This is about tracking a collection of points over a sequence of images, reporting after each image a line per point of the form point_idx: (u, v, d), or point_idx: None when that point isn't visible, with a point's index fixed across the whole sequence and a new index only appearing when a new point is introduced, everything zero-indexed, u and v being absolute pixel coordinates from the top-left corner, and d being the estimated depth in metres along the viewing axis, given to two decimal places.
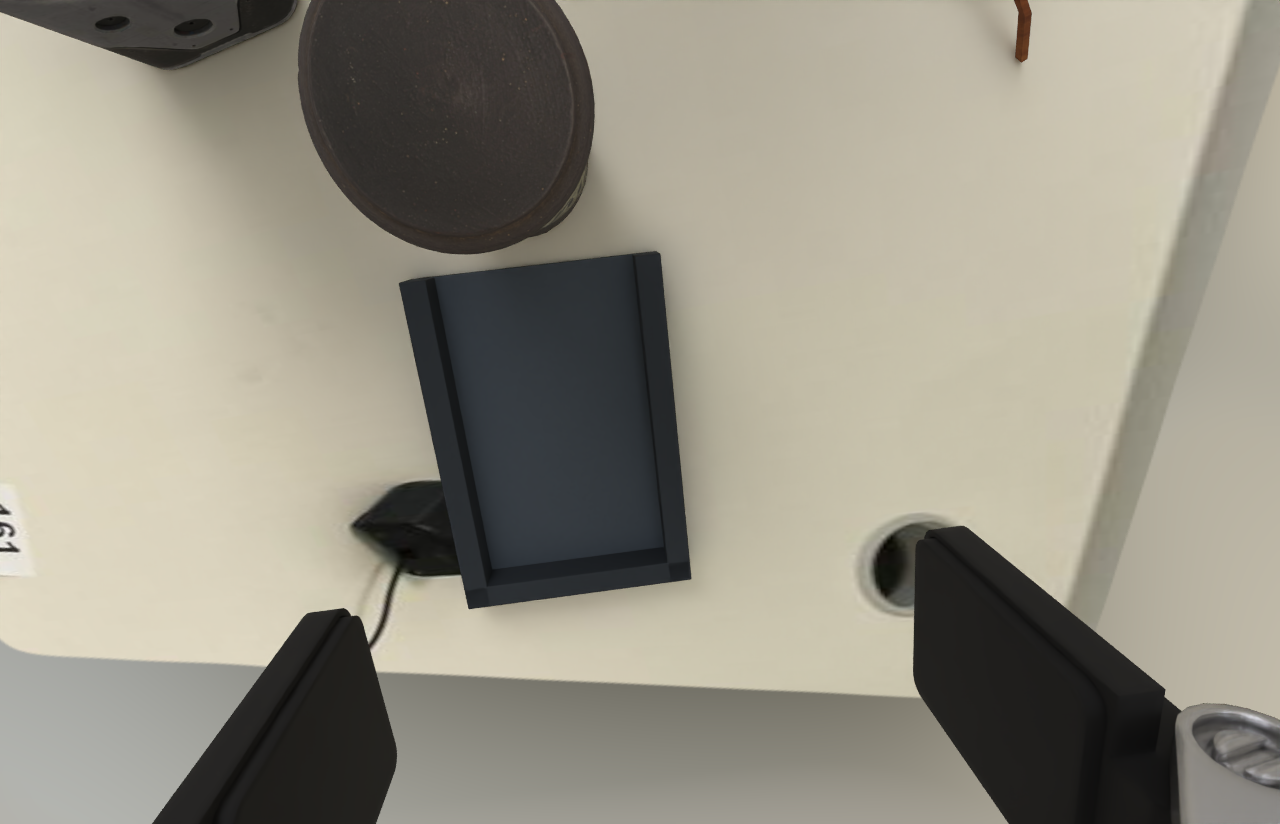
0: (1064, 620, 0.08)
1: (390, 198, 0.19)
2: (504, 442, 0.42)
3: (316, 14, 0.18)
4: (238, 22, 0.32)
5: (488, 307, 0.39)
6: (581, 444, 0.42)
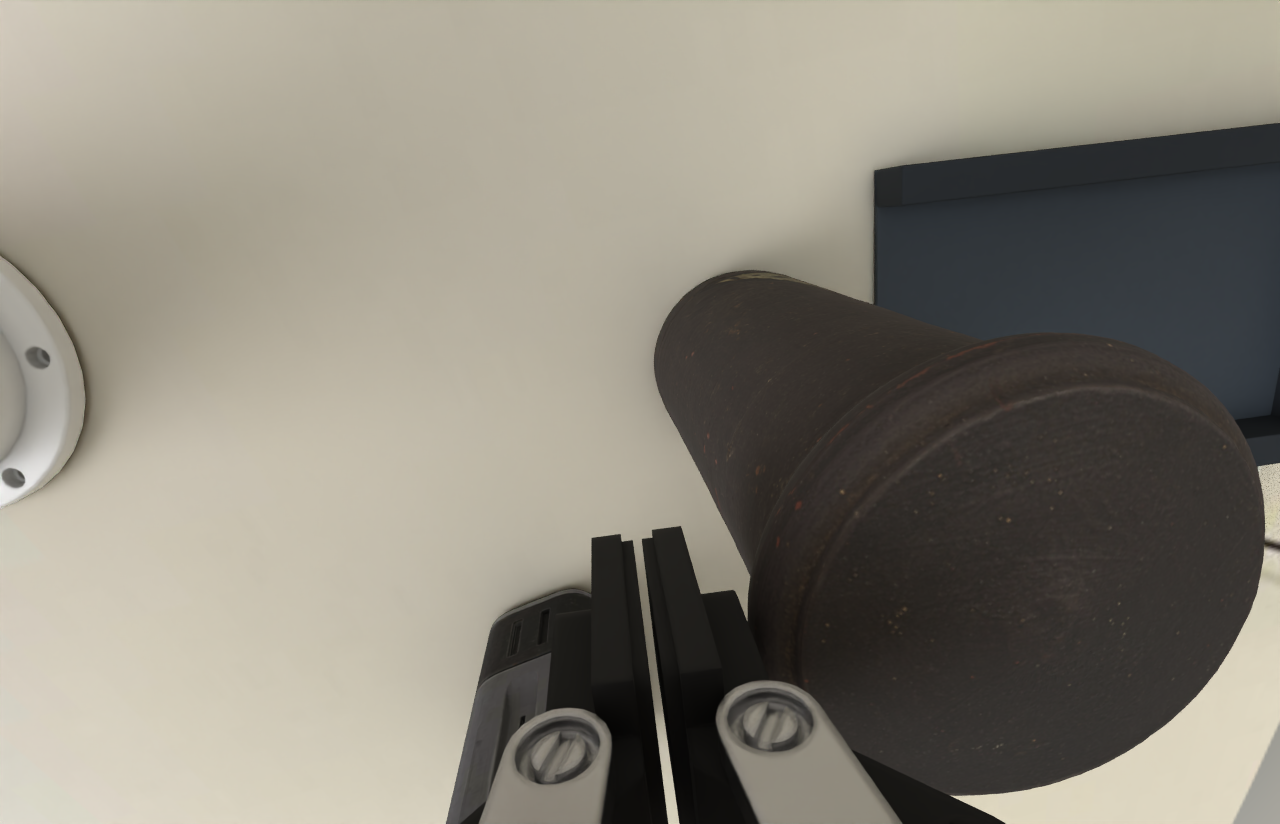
0: (691, 609, 0.09)
1: (1174, 696, 0.11)
2: None
3: None
4: None
5: None
6: (1127, 285, 0.29)
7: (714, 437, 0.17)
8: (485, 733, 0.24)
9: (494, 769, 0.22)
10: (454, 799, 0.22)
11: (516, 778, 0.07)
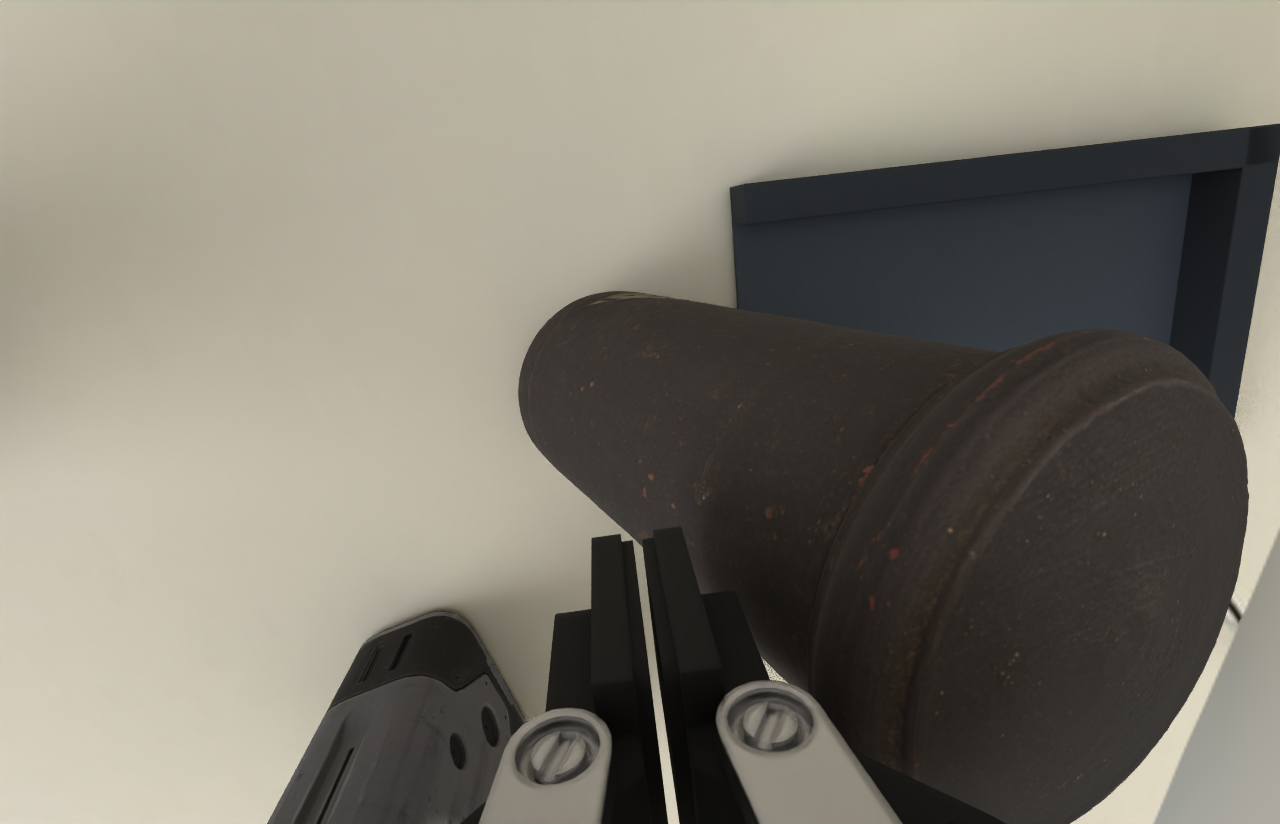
0: (691, 609, 0.09)
1: (1190, 678, 0.11)
2: None
3: None
4: (479, 678, 0.29)
5: None
6: (999, 303, 0.28)
7: (665, 478, 0.14)
8: (309, 766, 0.23)
9: (303, 805, 0.21)
10: None
11: (515, 778, 0.07)
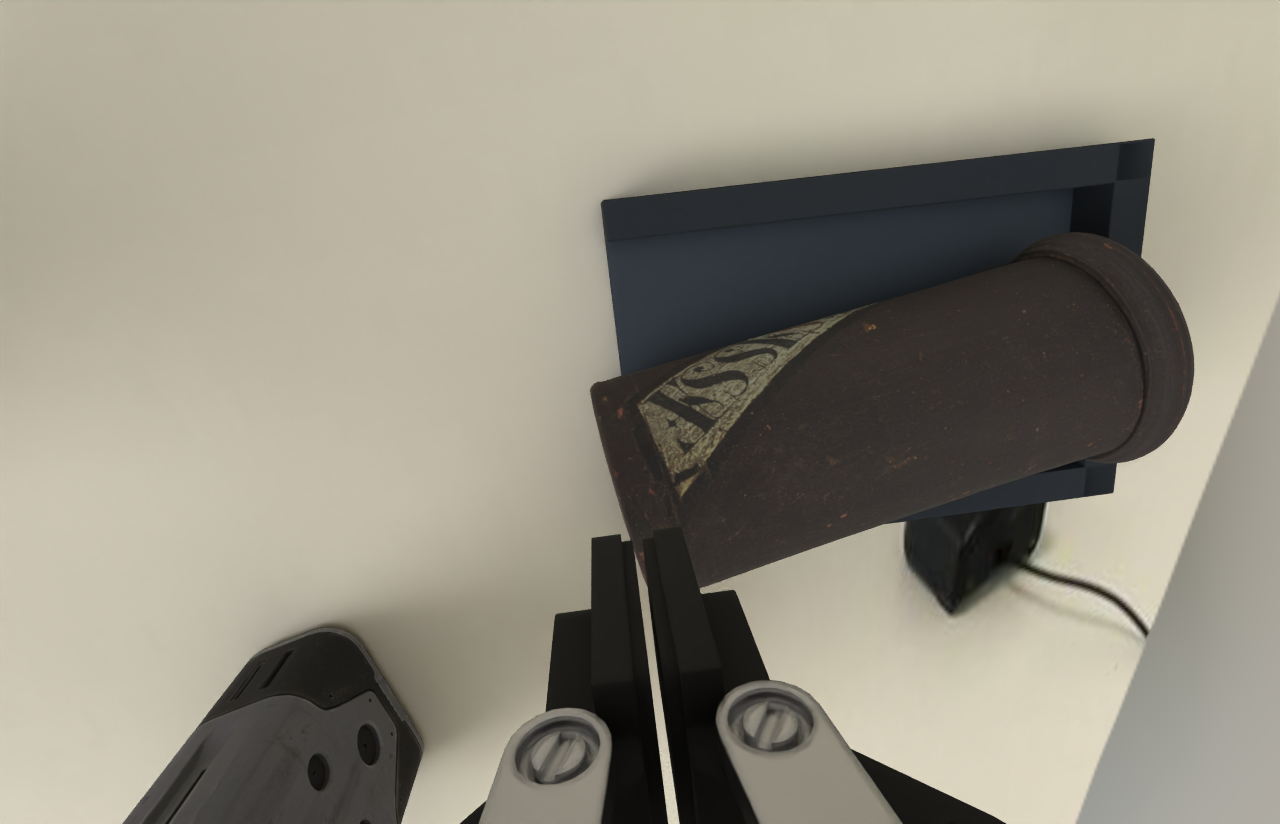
0: (691, 609, 0.09)
1: None
2: None
3: None
4: (360, 695, 0.29)
5: None
6: None
7: (986, 484, 0.22)
8: (157, 788, 0.23)
9: None
10: None
11: (516, 778, 0.07)
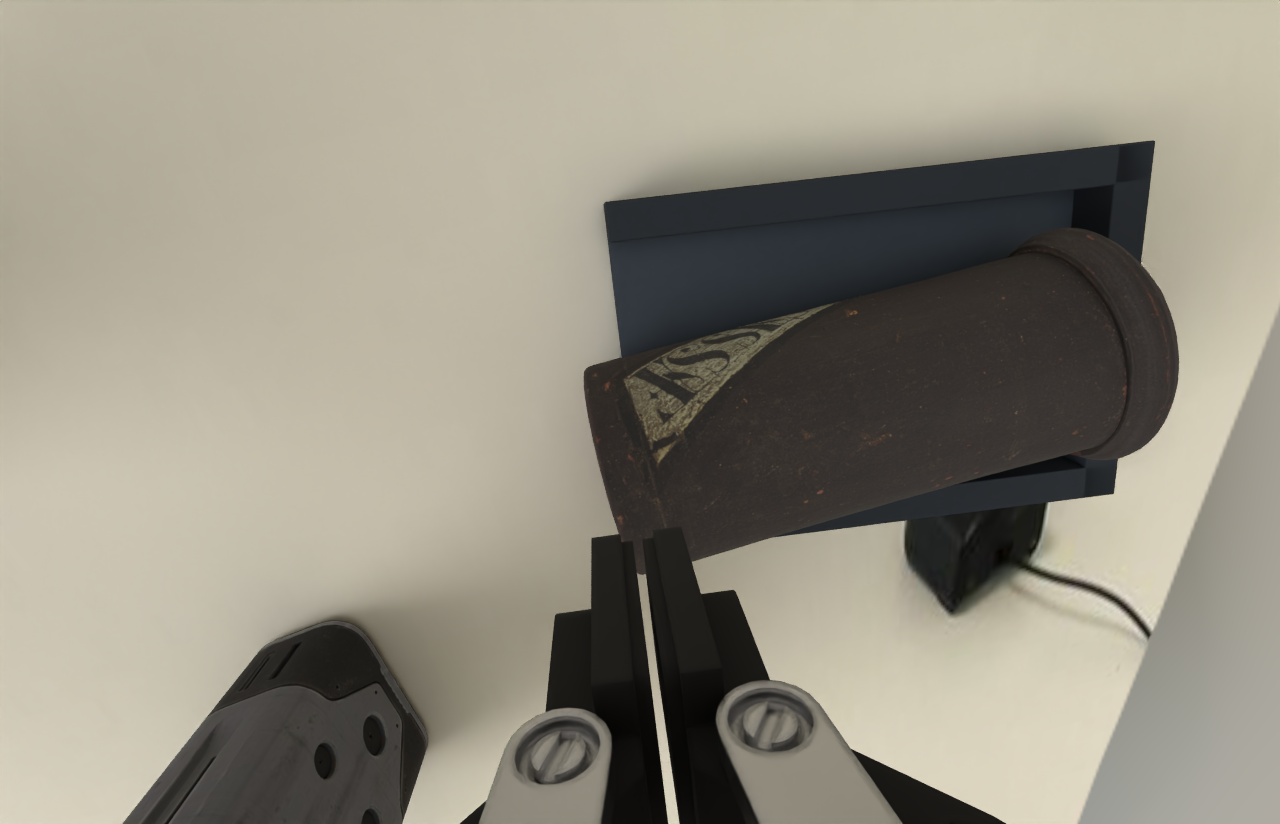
0: (691, 609, 0.09)
1: None
2: None
3: None
4: (367, 687, 0.30)
5: None
6: None
7: (968, 470, 0.22)
8: (168, 774, 0.24)
9: (150, 814, 0.22)
10: None
11: (516, 778, 0.07)
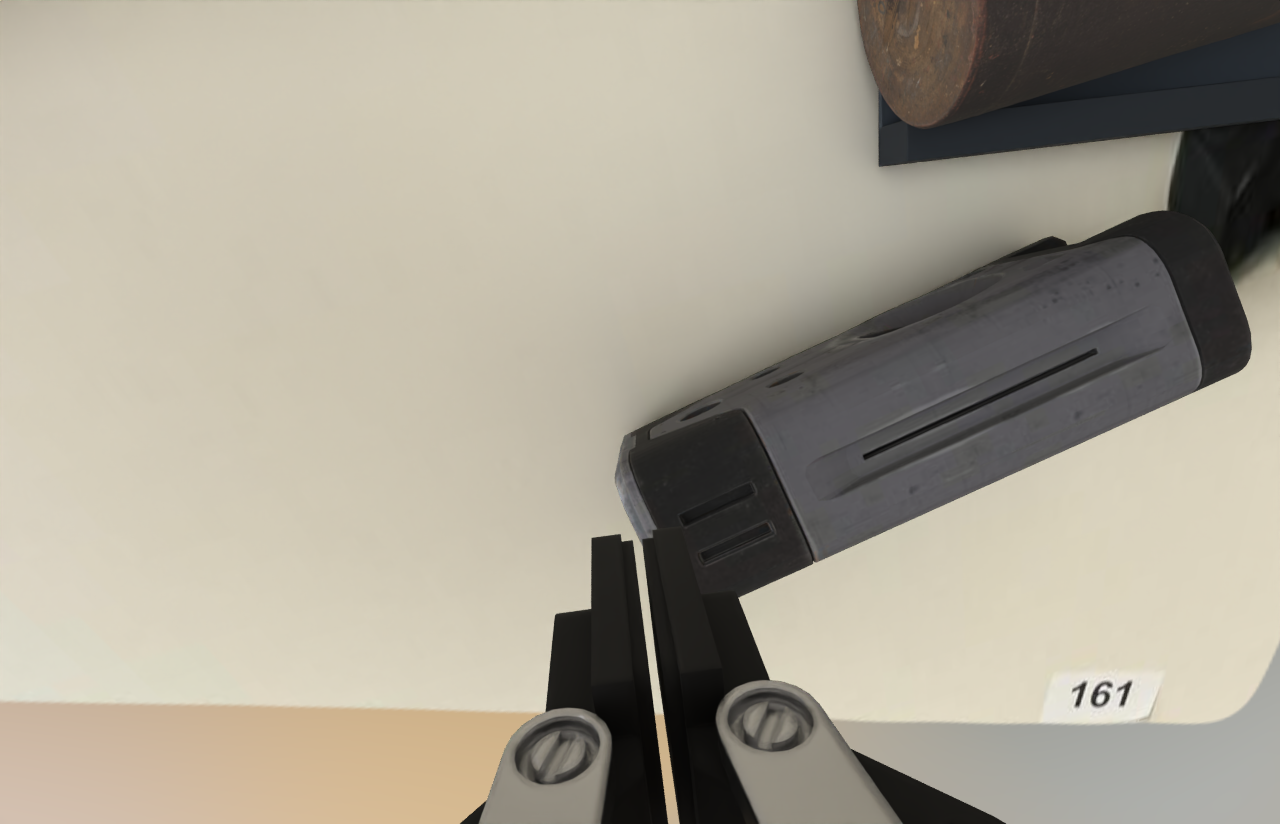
0: (691, 609, 0.09)
1: None
2: None
3: None
4: (673, 430, 0.23)
5: None
6: None
7: None
8: (899, 489, 0.20)
9: (947, 446, 0.20)
10: (973, 482, 0.20)
11: (516, 778, 0.07)
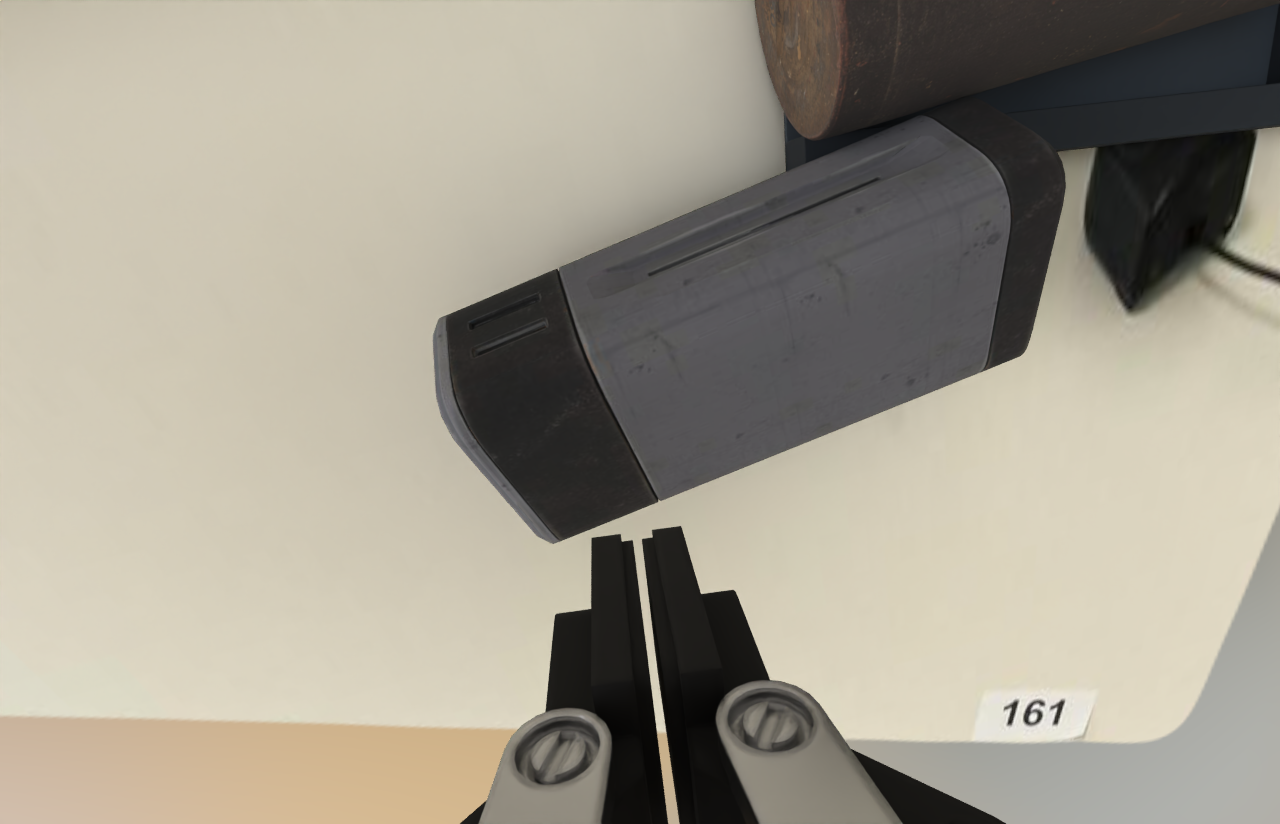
0: (691, 610, 0.09)
1: None
2: None
3: None
4: None
5: None
6: None
7: None
8: (673, 282, 0.19)
9: (724, 248, 0.20)
10: (756, 277, 0.19)
11: (516, 778, 0.07)
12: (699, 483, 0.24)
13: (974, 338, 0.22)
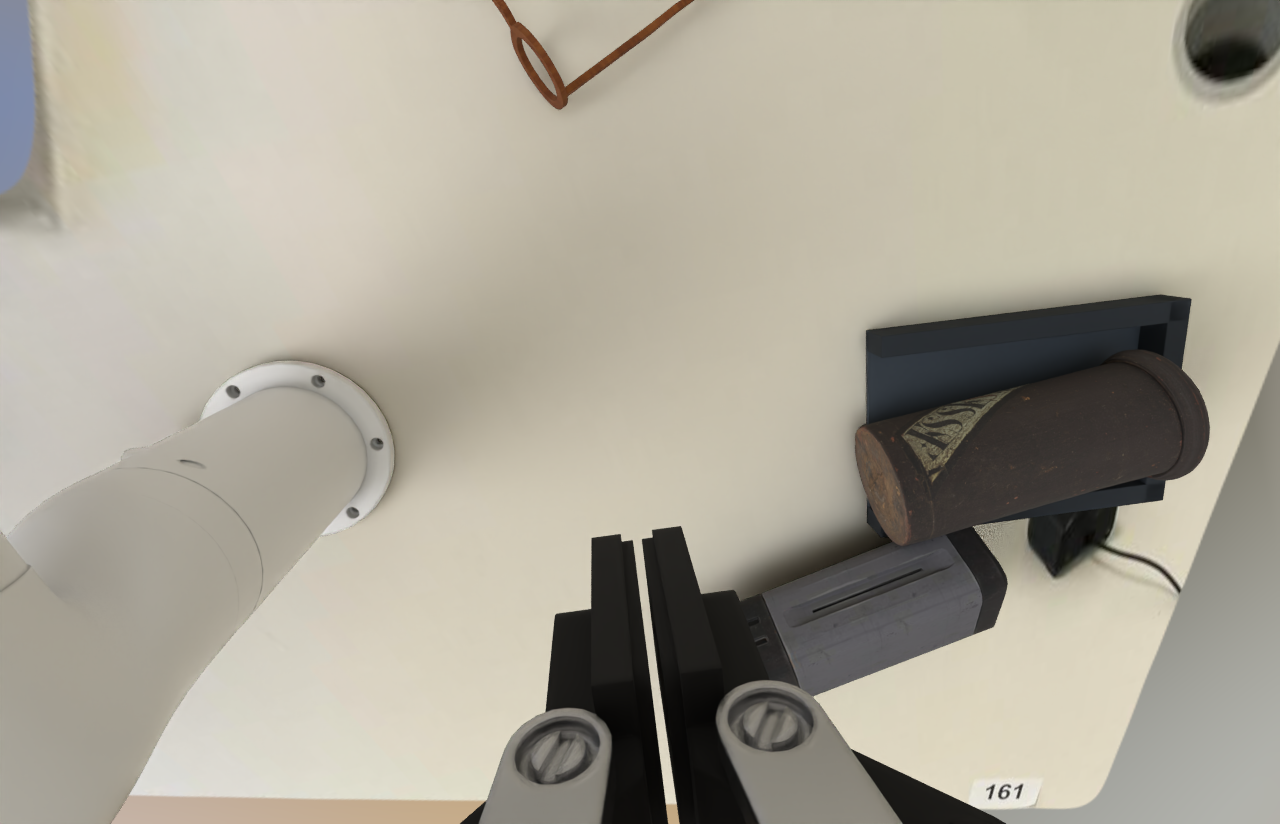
0: (691, 610, 0.09)
1: None
2: None
3: None
4: None
5: None
6: None
7: (1094, 485, 0.41)
8: (828, 624, 0.42)
9: (850, 605, 0.43)
10: (867, 626, 0.42)
11: (516, 778, 0.07)
12: None
13: (966, 629, 0.45)
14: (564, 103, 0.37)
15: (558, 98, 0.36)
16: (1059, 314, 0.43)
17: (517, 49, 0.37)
